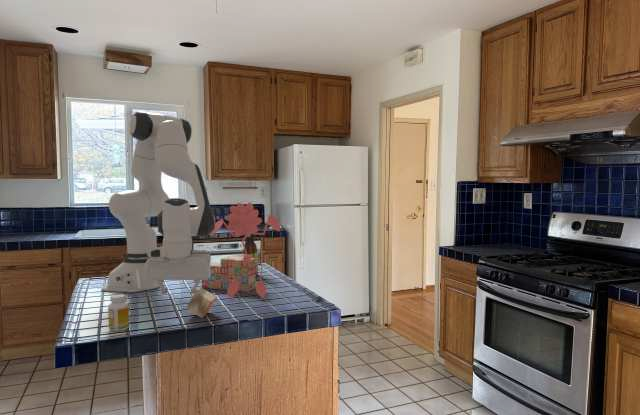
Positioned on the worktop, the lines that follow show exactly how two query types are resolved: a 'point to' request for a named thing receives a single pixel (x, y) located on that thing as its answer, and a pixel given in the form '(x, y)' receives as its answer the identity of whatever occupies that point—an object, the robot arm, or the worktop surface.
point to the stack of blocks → (232, 274)
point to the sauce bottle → (251, 249)
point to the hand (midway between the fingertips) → (179, 293)
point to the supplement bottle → (118, 313)
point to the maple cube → (201, 302)
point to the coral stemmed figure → (245, 223)
